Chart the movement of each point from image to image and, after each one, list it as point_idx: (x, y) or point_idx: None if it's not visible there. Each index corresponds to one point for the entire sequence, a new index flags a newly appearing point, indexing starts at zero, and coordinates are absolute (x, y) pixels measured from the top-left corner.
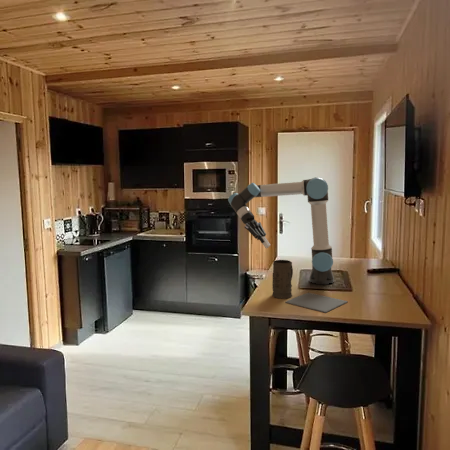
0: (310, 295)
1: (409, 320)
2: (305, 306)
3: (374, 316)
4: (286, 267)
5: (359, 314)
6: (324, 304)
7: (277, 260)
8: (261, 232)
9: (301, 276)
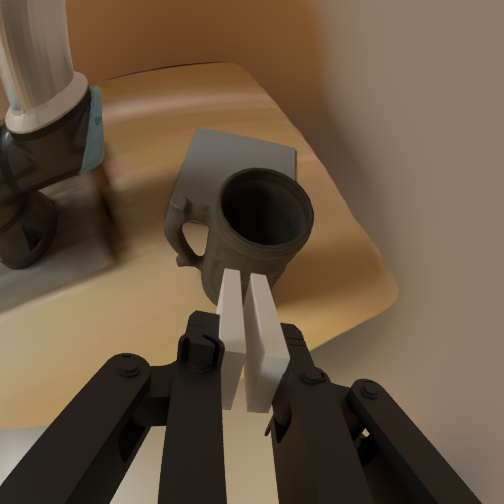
0: (194, 200)
1: (241, 72)
2: None
3: (254, 96)
4: (283, 189)
5: (259, 110)
6: (250, 156)
7: (248, 241)
8: (216, 432)
9: None
